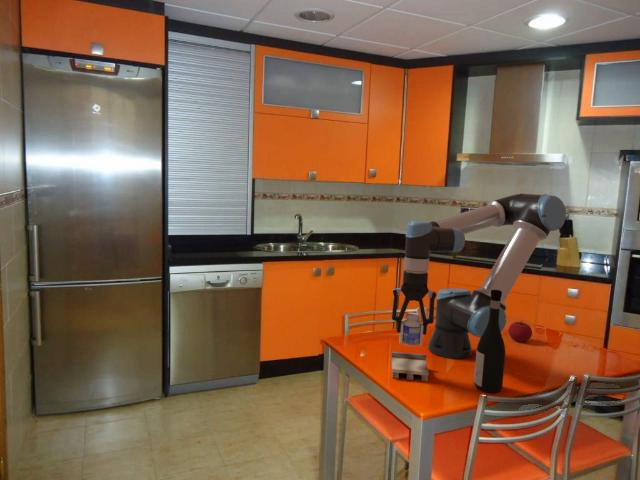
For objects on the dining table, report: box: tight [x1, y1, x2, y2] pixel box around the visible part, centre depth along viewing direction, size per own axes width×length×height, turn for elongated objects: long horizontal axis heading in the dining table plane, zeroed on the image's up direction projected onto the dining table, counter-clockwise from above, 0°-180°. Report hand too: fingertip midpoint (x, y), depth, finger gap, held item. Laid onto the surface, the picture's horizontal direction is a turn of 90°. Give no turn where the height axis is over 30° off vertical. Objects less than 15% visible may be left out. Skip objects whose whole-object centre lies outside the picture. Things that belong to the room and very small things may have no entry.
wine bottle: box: [473, 290, 506, 394], centre depth 138 cm, size 8×8×30 cm
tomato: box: [507, 320, 533, 342], centre depth 186 cm, size 9×9×8 cm
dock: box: [391, 351, 430, 382], centre depth 148 cm, size 11×11×4 cm
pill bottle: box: [402, 312, 422, 347], centre depth 147 cm, size 5×5×10 cm
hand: (410, 343), depth 147 cm, fingers closed on pill bottle, 5 cm apart
